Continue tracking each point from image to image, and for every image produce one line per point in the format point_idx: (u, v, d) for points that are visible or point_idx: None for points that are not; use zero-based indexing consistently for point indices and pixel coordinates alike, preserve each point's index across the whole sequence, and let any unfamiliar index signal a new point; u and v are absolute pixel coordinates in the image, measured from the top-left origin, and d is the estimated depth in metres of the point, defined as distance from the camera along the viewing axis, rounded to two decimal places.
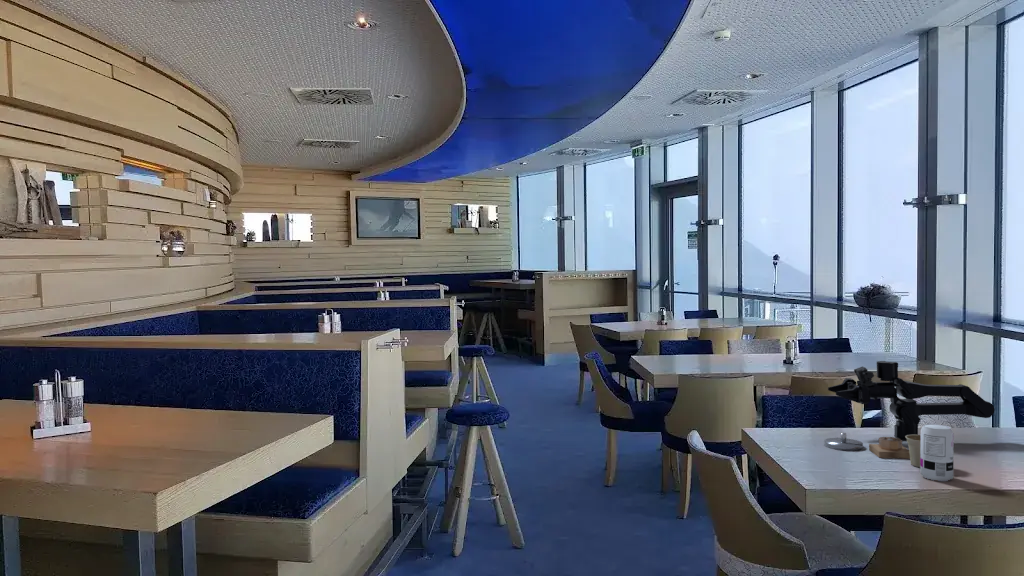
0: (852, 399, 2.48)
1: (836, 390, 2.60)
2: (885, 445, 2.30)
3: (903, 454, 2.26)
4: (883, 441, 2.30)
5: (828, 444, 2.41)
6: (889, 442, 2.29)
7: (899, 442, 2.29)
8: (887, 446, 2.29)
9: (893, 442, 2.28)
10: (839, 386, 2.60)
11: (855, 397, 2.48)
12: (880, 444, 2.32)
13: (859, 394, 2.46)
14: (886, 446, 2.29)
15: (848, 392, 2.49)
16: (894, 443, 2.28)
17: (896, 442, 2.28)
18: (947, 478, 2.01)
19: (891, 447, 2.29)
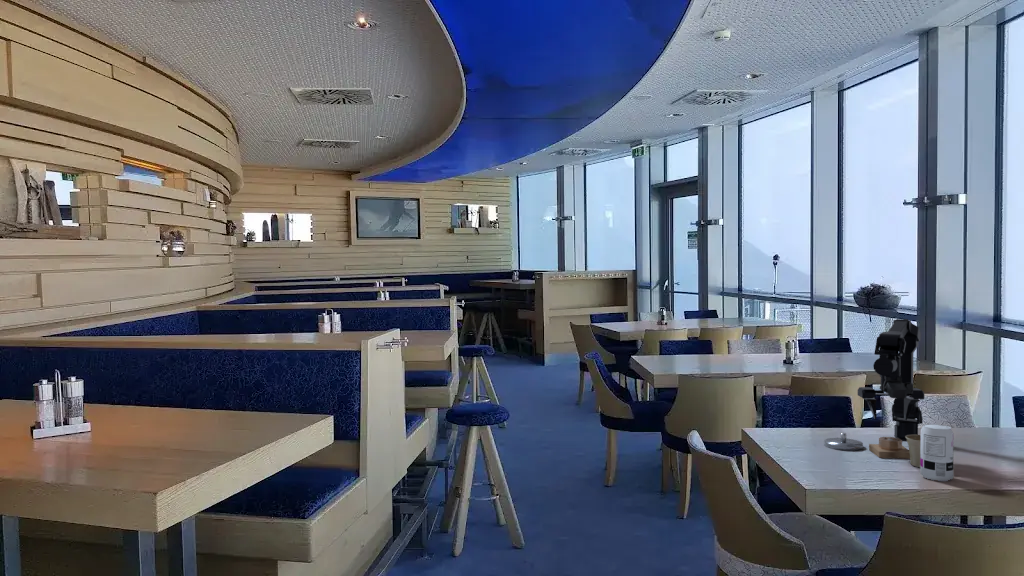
0: None
1: None
2: (885, 445, 2.30)
3: (903, 454, 2.26)
4: (883, 441, 2.30)
5: (828, 444, 2.41)
6: (889, 442, 2.29)
7: (899, 442, 2.29)
8: (887, 446, 2.29)
9: (893, 442, 2.28)
10: None
11: None
12: (880, 444, 2.32)
13: None
14: (886, 446, 2.29)
15: None
16: (894, 443, 2.28)
17: (896, 442, 2.28)
18: (947, 478, 2.01)
19: (891, 447, 2.29)
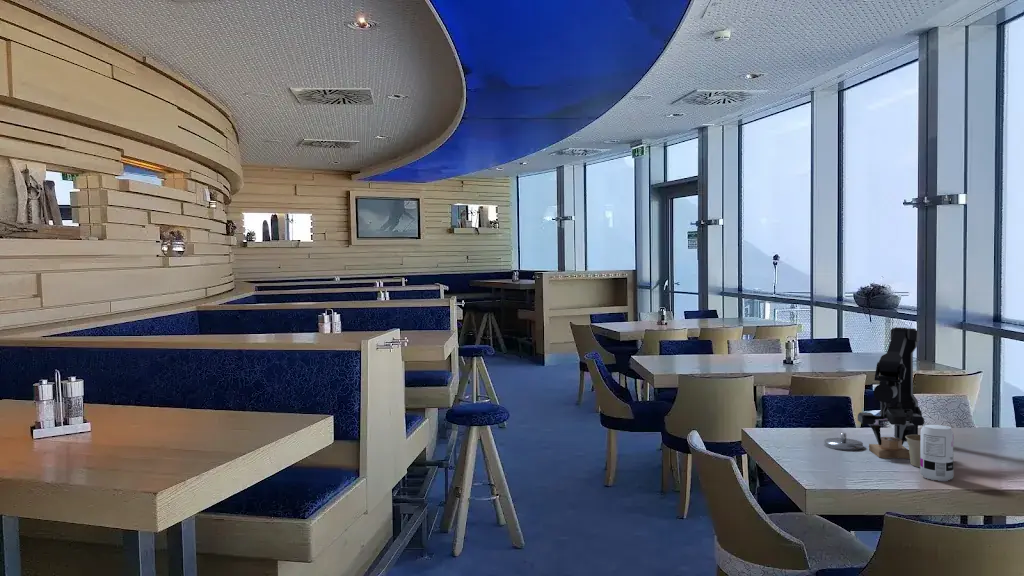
0: None
1: None
2: (885, 445, 2.30)
3: (903, 454, 2.26)
4: (883, 441, 2.30)
5: (828, 444, 2.41)
6: (889, 442, 2.29)
7: (899, 442, 2.29)
8: (887, 446, 2.29)
9: (893, 442, 2.28)
10: None
11: None
12: None
13: None
14: (886, 446, 2.29)
15: None
16: (894, 443, 2.28)
17: (896, 442, 2.28)
18: (947, 478, 2.01)
19: (891, 447, 2.29)
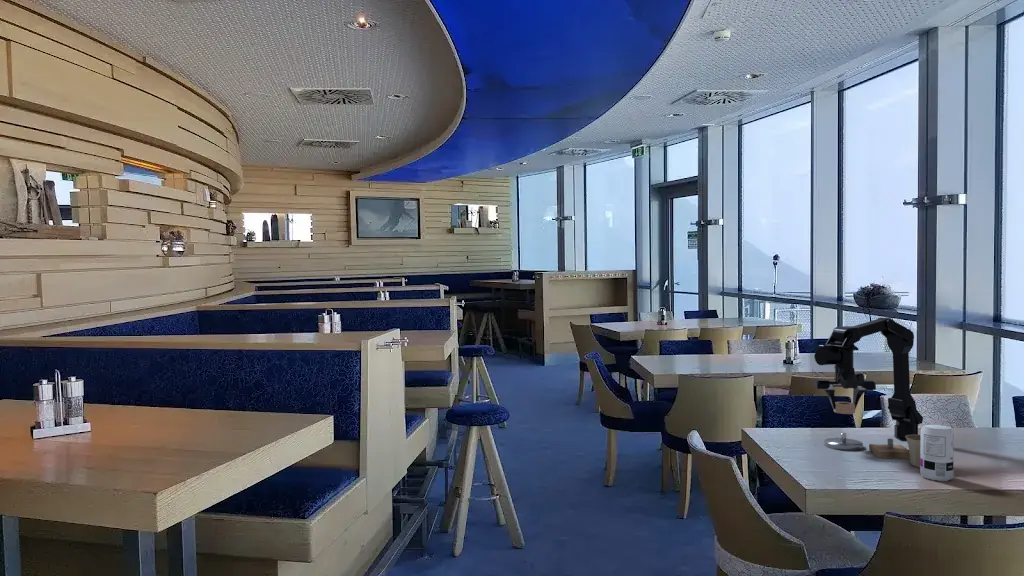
0: None
1: None
2: (839, 409, 2.40)
3: (903, 454, 2.26)
4: (837, 405, 2.41)
5: (828, 444, 2.41)
6: (842, 406, 2.39)
7: (852, 405, 2.39)
8: (841, 409, 2.40)
9: (846, 406, 2.39)
10: None
11: None
12: None
13: None
14: (840, 410, 2.40)
15: None
16: (847, 407, 2.39)
17: (849, 406, 2.39)
18: (947, 478, 2.01)
19: (844, 411, 2.39)
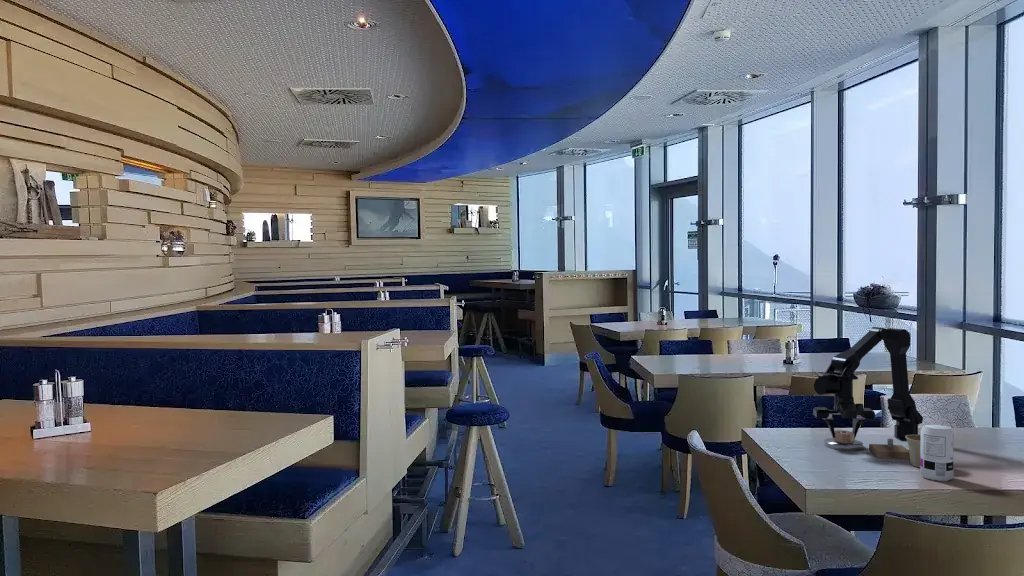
0: None
1: None
2: (838, 438, 2.41)
3: (903, 454, 2.26)
4: (836, 434, 2.41)
5: (828, 444, 2.41)
6: (842, 435, 2.40)
7: (851, 435, 2.40)
8: (840, 439, 2.40)
9: (846, 435, 2.39)
10: None
11: None
12: None
13: None
14: (839, 439, 2.40)
15: None
16: (847, 436, 2.39)
17: (848, 435, 2.39)
18: (947, 478, 2.01)
19: (844, 440, 2.40)
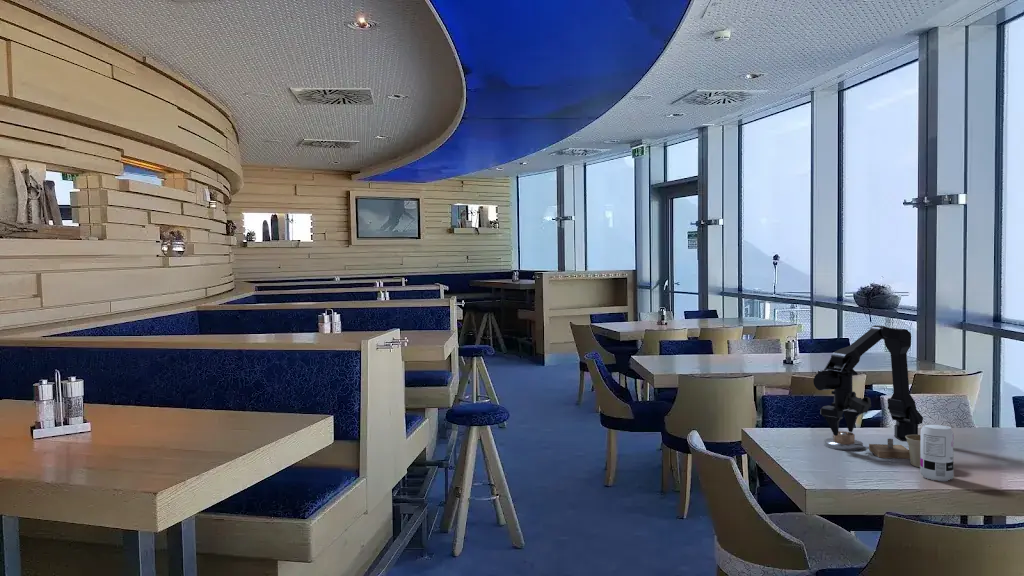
0: None
1: None
2: (846, 440, 2.39)
3: (903, 454, 2.26)
4: (843, 436, 2.40)
5: (828, 444, 2.41)
6: (849, 436, 2.39)
7: None
8: (847, 440, 2.39)
9: (852, 436, 2.40)
10: None
11: None
12: (839, 439, 2.41)
13: None
14: (847, 441, 2.39)
15: None
16: (852, 436, 2.40)
17: (853, 435, 2.40)
18: (947, 478, 2.01)
19: (851, 441, 2.39)
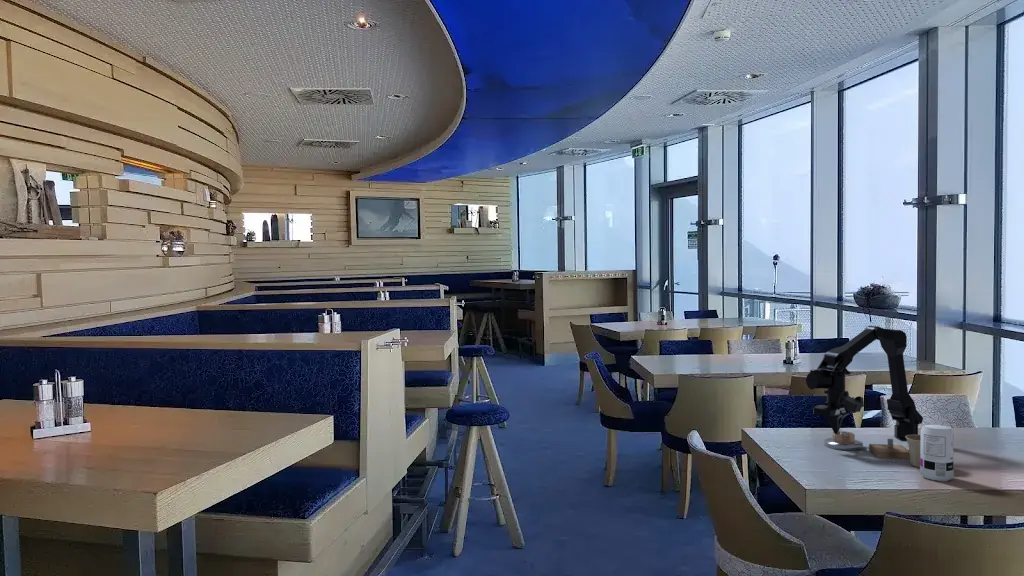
0: None
1: None
2: (846, 440, 2.39)
3: (903, 454, 2.26)
4: (843, 436, 2.40)
5: (828, 444, 2.41)
6: (849, 436, 2.39)
7: None
8: (847, 440, 2.39)
9: (852, 436, 2.40)
10: None
11: None
12: (839, 439, 2.41)
13: None
14: (847, 441, 2.39)
15: None
16: (852, 436, 2.40)
17: (853, 435, 2.40)
18: (947, 478, 2.01)
19: (851, 441, 2.39)
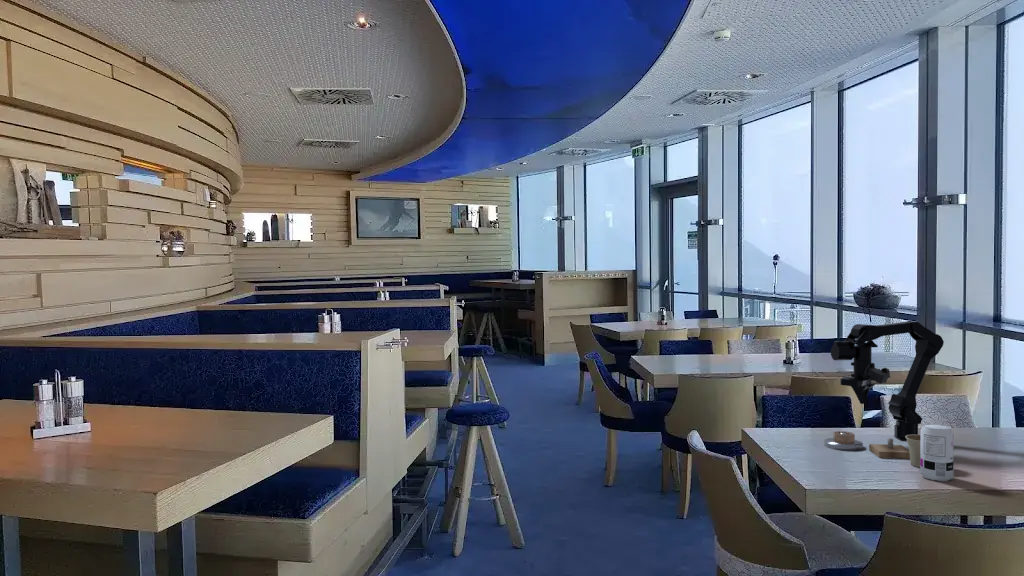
0: None
1: None
2: (846, 440, 2.39)
3: (903, 454, 2.26)
4: (843, 436, 2.40)
5: (828, 444, 2.41)
6: (849, 436, 2.39)
7: None
8: (847, 440, 2.39)
9: (852, 436, 2.40)
10: None
11: None
12: (839, 439, 2.41)
13: None
14: (847, 441, 2.39)
15: None
16: (852, 436, 2.40)
17: (853, 435, 2.40)
18: (947, 478, 2.01)
19: (851, 441, 2.39)
